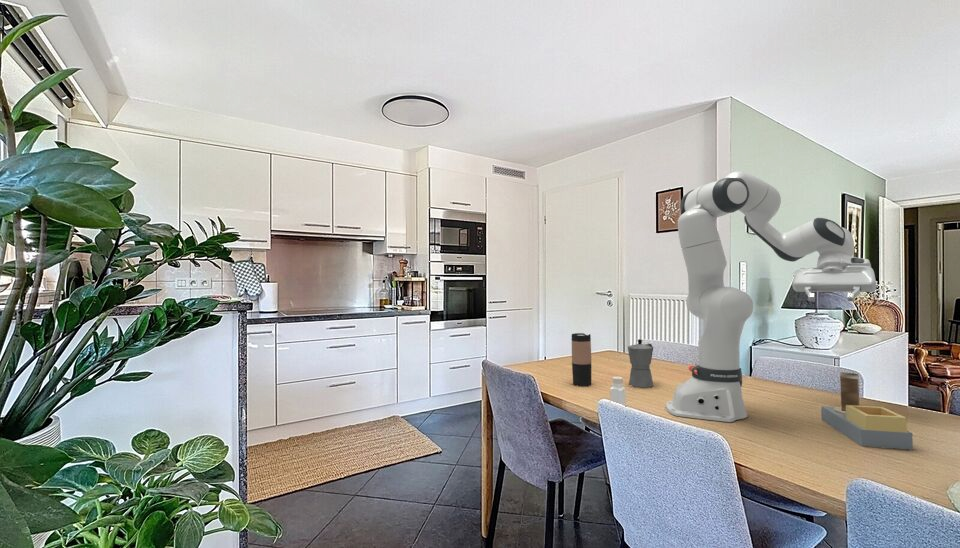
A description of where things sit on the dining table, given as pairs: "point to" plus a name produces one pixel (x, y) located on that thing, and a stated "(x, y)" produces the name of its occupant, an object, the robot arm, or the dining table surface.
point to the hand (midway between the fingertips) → (830, 299)
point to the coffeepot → (640, 365)
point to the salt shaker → (618, 391)
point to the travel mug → (581, 359)
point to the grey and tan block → (870, 426)
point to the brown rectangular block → (849, 389)
